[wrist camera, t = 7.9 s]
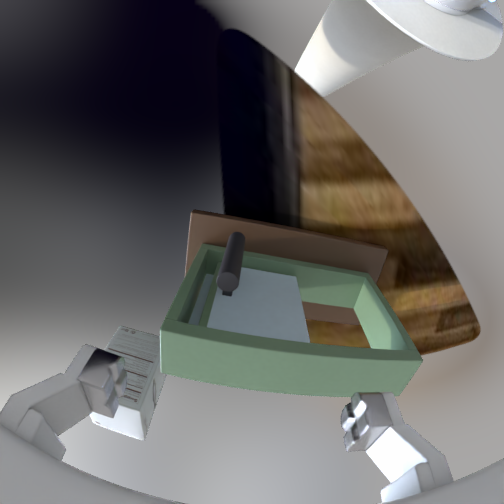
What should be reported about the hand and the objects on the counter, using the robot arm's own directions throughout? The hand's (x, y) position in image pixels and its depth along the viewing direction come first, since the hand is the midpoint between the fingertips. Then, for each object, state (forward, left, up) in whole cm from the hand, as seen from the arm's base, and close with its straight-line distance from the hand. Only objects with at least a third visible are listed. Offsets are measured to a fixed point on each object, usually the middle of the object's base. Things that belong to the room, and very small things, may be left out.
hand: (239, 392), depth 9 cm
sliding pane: (+3, +1, -19) cm, 19 cm away
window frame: (+6, +4, -22) cm, 23 cm away
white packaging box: (+21, -12, -22) cm, 33 cm away
